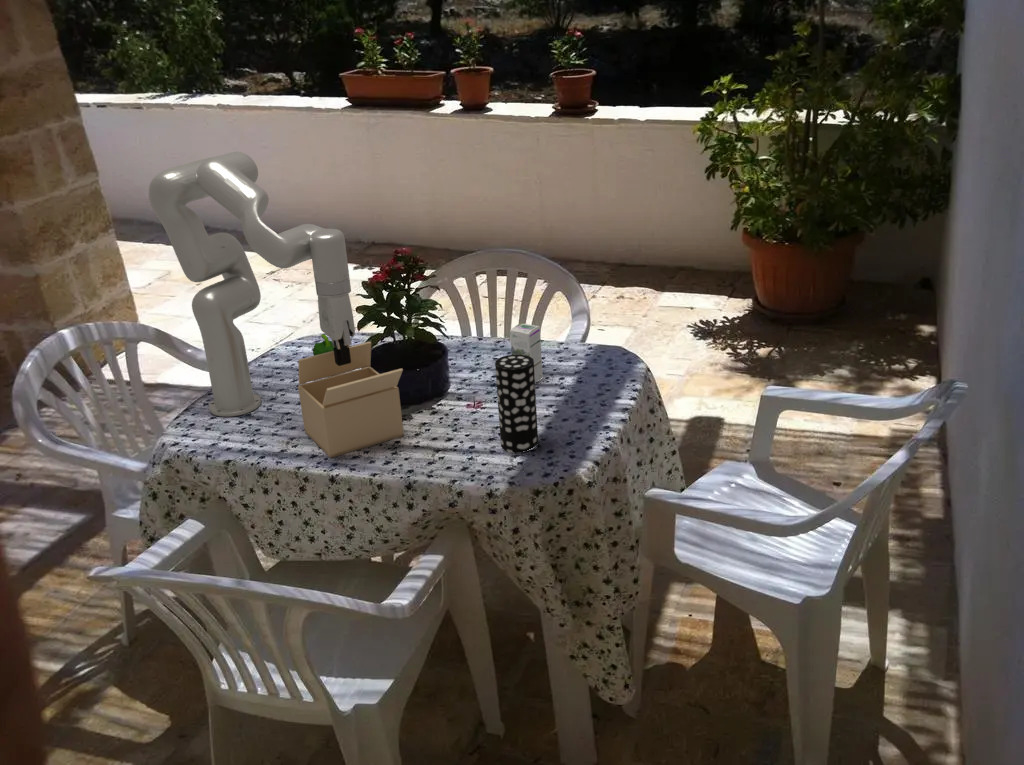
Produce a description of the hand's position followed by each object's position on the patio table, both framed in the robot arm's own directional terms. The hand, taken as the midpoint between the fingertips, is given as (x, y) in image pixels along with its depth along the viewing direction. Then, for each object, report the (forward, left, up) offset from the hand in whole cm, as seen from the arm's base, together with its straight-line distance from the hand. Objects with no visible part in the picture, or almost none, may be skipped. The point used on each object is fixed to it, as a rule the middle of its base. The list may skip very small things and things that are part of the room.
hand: (343, 363), depth 236 cm
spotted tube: (+29, +28, -18) cm, 44 cm away
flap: (-5, 0, -2) cm, 5 cm away
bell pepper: (-38, +10, -18) cm, 43 cm away
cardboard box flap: (+10, 0, -2) cm, 10 cm away
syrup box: (0, +48, -18) cm, 51 cm away
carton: (+1, 0, -18) cm, 18 cm away
